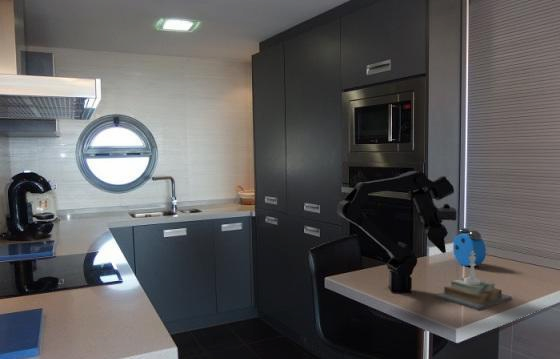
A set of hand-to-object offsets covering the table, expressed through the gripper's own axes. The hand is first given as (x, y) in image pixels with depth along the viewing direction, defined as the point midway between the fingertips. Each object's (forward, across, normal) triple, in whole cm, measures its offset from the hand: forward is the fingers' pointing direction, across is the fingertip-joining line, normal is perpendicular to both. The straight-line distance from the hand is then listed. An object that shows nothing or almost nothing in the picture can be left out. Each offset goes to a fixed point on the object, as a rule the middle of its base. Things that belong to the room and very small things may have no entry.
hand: (442, 247), depth 148 cm
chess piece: (+10, -10, -4) cm, 15 cm away
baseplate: (+14, -11, -3) cm, 18 cm away
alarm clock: (+23, +33, -8) cm, 41 cm away
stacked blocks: (+14, -11, -3) cm, 18 cm away
